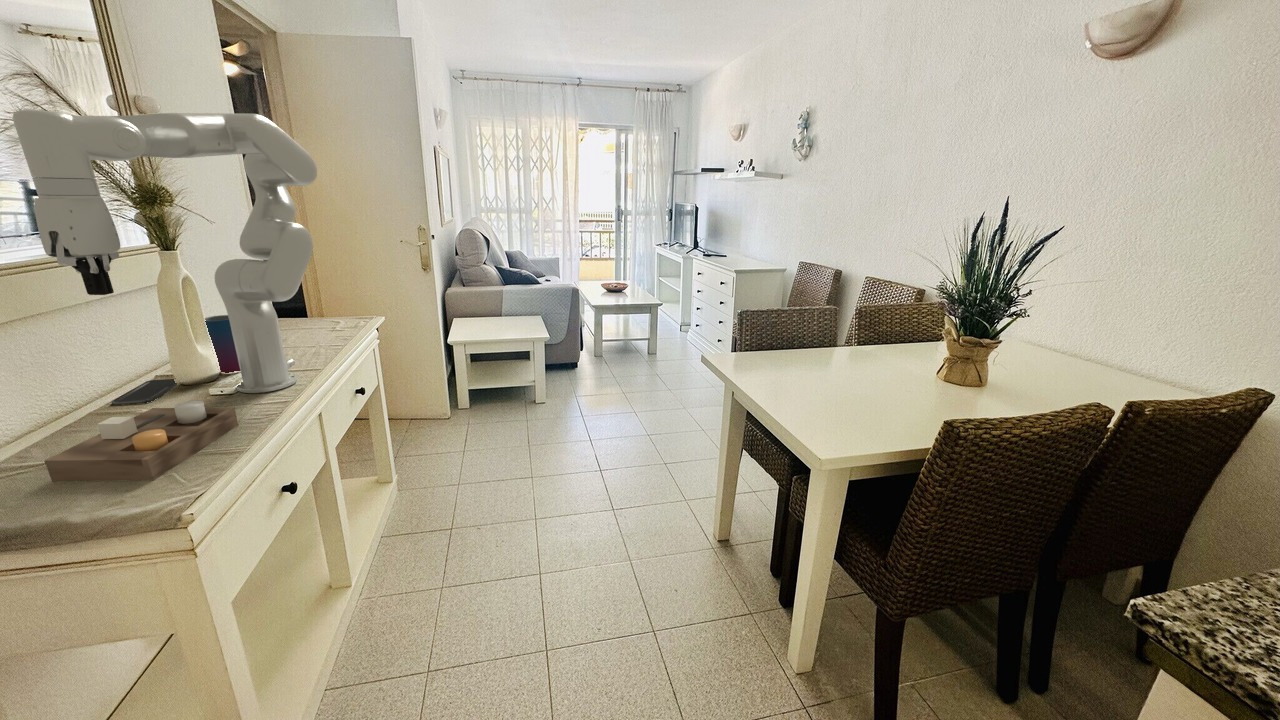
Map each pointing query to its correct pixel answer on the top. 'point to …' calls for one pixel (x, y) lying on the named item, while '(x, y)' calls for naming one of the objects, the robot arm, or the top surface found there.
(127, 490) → the top surface
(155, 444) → the orange button
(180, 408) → the grey button
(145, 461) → the control panel
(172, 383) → the phone
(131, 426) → the slider knob
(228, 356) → the cup
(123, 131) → the robot arm
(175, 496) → the top surface
